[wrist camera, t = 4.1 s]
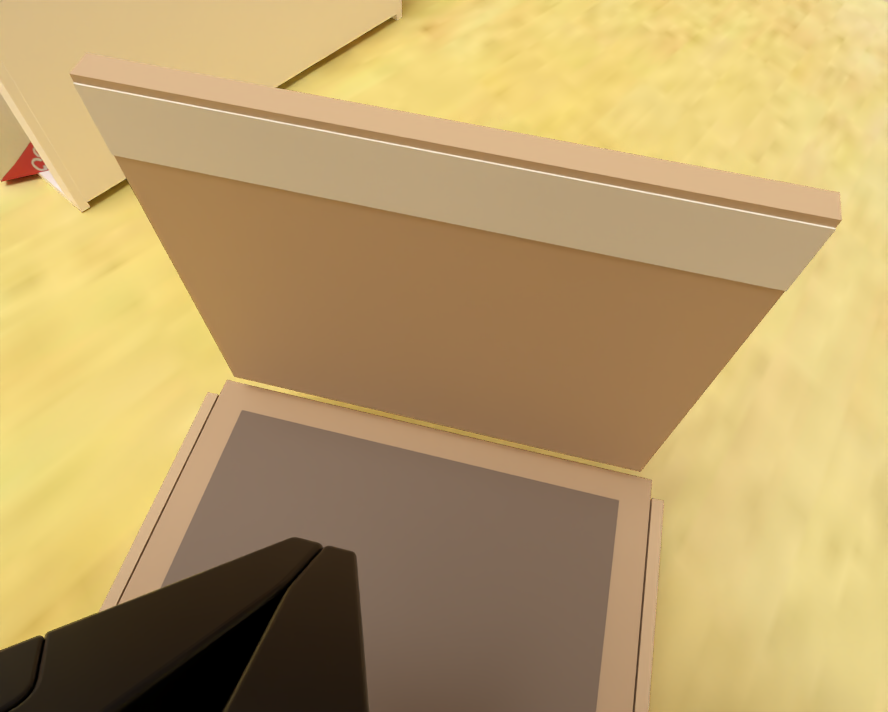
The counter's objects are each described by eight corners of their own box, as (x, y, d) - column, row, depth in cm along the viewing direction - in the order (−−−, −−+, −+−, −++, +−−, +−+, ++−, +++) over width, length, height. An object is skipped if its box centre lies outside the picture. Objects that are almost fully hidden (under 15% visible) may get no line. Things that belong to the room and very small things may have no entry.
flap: (841, 221, 9) (839, 190, 9) (67, 75, 10) (87, 51, 10) (640, 472, 17) (642, 452, 17) (234, 377, 18) (241, 359, 18)
